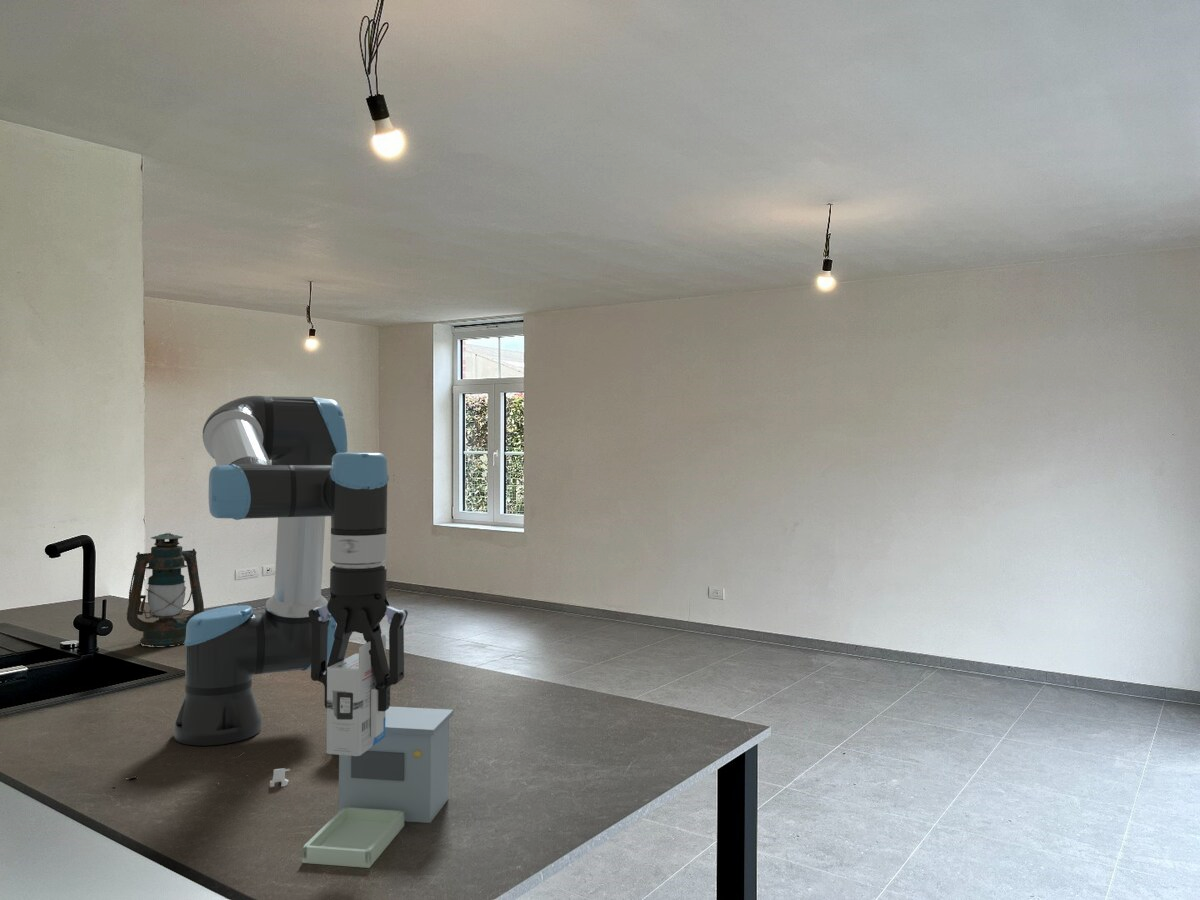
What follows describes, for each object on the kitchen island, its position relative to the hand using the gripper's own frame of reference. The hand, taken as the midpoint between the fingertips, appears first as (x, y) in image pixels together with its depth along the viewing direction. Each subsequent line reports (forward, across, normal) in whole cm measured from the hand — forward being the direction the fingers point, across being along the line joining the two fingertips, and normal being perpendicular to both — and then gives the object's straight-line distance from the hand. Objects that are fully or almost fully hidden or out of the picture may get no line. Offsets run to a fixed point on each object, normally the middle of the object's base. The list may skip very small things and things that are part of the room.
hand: (357, 732), depth 124 cm
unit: (+15, +1, +13) cm, 20 cm away
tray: (+15, 0, 0) cm, 15 cm away
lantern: (+15, -100, +110) cm, 149 cm away
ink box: (+2, 0, 0) cm, 2 cm away
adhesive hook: (+16, -21, +20) cm, 33 cm away
